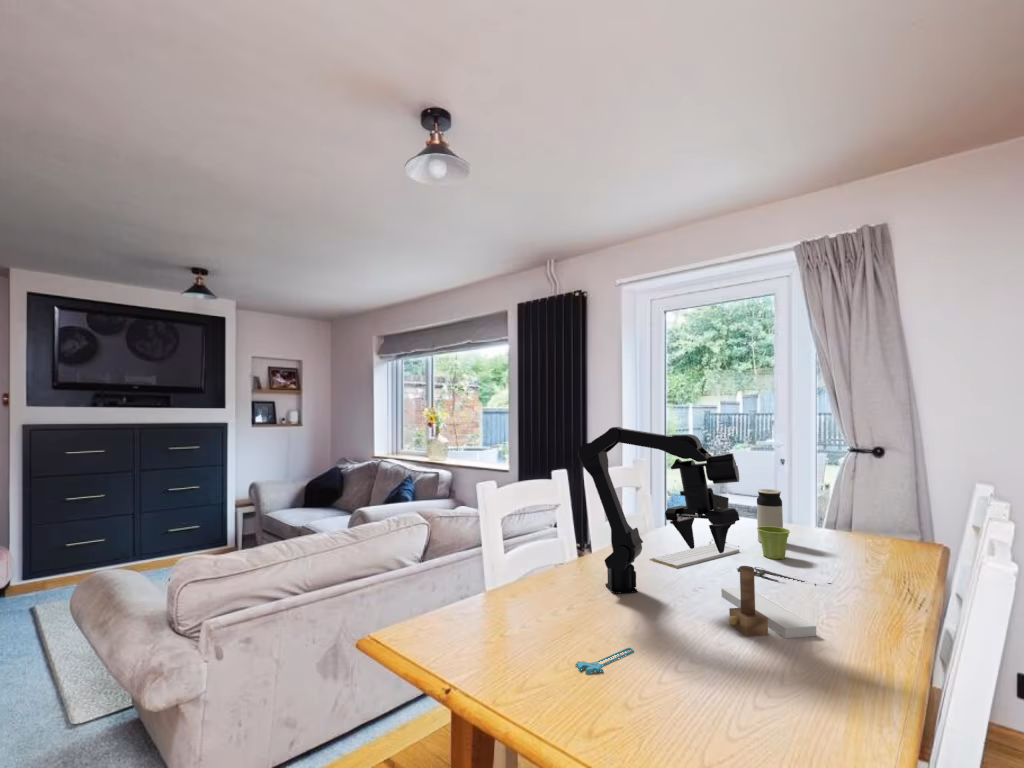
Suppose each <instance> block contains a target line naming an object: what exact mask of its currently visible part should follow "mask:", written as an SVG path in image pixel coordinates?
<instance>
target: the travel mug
mask: <svg viewBox="0 0 1024 768" xmlns="http://www.w3.org/2000/svg"><path fill="white" fill-rule="evenodd" d="M756 491H757V493H758V494H757V495H758V496H757V498H756V514H757V515H756V516H757V518H756V521H757V527H761V526H773V527H780V528H784V522H783V520H784V519H783V517H784V516H783V500H782V498H781V497H780V496H781V493H782V491H780V490H777V489H772V488H771V489H770V488H769V489H768V488H762V489H761V488H760V489H757V490H756ZM757 542H759V543H761V539H760V534H759V531H758V530H757Z"/></svg>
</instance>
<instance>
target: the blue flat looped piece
mask: <svg viewBox="0 0 1024 768" xmlns="http://www.w3.org/2000/svg"><path fill="white" fill-rule="evenodd" d="M630 650H631V651H630ZM625 651H626V652H627V653H625ZM628 651H629V652H628ZM622 652H623V653H624V654H623V653H622ZM634 652H635V651H634V648H632V647H626V648H623V649H621V650H619V651H617V652H615V653H612V654H610V655H607V656H605V657H604V658H601V659H599V660H595V661H593V662H588V661H584V660H583V661H580V660H578V661H577V662H575V666H576V665H577V666H578V667H577V666H576V667H577V670H578V669H579V670H580V671H579V670H578V671H579V672H582V671H581V669H583V668H586V669H583V670H585V674H587V673H590V674H592V673H591V672H594V673H596V672H599V671H601V672H602V671H603V672H604V669H603V668H602V667H601V666H602V665H605V664H607V663H609V662H611V663H613V662H615V661H614V660H616V659H618V658H620V659H622V658H624V657H626V656H625V655H627V656H629V655H631V654H633V653H634ZM620 653H622V654H623V655H622V654H620ZM630 653H631V654H630ZM617 654H619V656H618V655H617ZM628 654H629V655H628ZM614 655H617V656H616V658H615V657H614V659H612V660H609V661H607V662H605V663H603V664H599V663H598V662H600V661H603V660H605V659H608V658H610V657H612V656H614ZM623 656H624V657H623ZM621 657H622V658H621ZM612 658H613V657H612ZM610 659H611V658H610ZM618 660H619V659H618ZM612 661H613V662H612ZM616 661H617V660H616ZM609 664H610V663H609ZM607 665H608V664H607ZM605 666H606V665H605ZM600 667H601V668H600ZM601 672H599V673H601ZM603 672H602V673H603ZM594 673H593V674H594ZM596 674H597V673H596Z"/></svg>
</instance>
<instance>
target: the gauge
mask: <svg viewBox="0 0 1024 768" xmlns="http://www.w3.org/2000/svg"><path fill="white" fill-rule="evenodd" d="M739 567H740V572H739V587H740V594H741V608H739V607H731V608H730V607H729V609H728V610H729V616H728V623H729V625H730V626H731V627H732V628H734V629H735V630H736V631H738V632H739V633H741V634H742V635H743V636H744V637H746V638H747V637H748V638H749V637H758V636H759V637H761V636H769V627H768V618H767V617H766V616H764V615H763V614H761V613H759V612H758V611H756V610H755V591H756V589H755V588H756V587H755V586H756V585H755V576H754V575H755V574H758V573H759V571H758V570H756V571H755V569H754V568H755V567H753V566H749V565H741V566H739Z"/></svg>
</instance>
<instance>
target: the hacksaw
mask: <svg viewBox="0 0 1024 768" xmlns="http://www.w3.org/2000/svg"><path fill="white" fill-rule="evenodd" d="M753 568H754V570H756V571H757V572H758V574H755V575H754V577H758V578H759V577H760V578H764V579H766V580H770V581H774V582H778V581H779V580H778V579H775V578H771V577H768V576H764V575H766V574H768V575H772V576H775V577H778V576H780V577H779V578H782V577H784V578H783V579H786V578H788V579H787V580H790V579H793V580H792V581H794V580H797V581H796V582H799V581H801V582H800V583H803V582H805V581H806V580H801V579H797V578H794V577H791V576H787V575H782V574H780V573H776V572H771V571H770V570H767V569H765V568H763V567H759V566H754V567H753ZM737 572H739V573H740V566H739V567H738V568H737ZM778 583H779V582H778Z"/></svg>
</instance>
